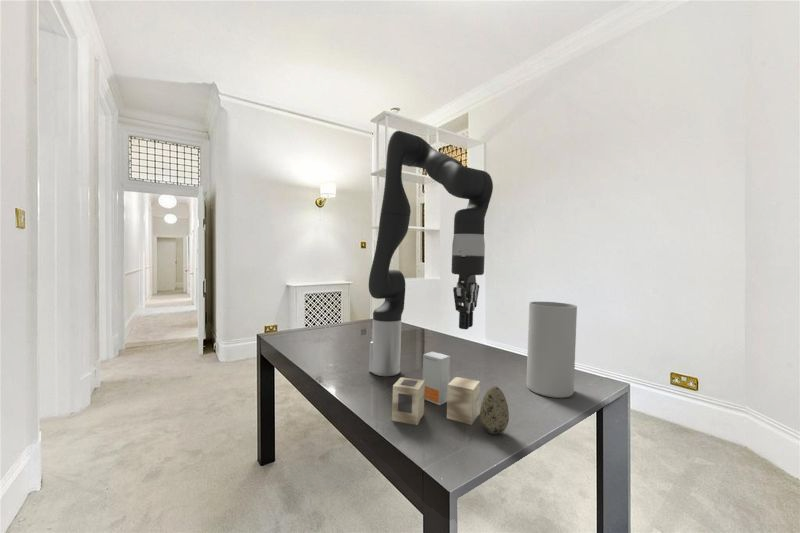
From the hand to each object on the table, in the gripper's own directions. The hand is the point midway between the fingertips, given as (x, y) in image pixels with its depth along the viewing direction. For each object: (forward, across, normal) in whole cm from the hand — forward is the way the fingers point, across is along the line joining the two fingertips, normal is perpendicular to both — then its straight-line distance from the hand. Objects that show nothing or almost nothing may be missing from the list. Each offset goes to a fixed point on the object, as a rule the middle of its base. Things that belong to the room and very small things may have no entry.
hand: (465, 327), depth 78 cm
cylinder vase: (+21, -29, +17) cm, 40 cm away
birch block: (+21, 0, 0) cm, 21 cm away
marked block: (+21, +7, -11) cm, 25 cm away
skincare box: (+21, -5, -9) cm, 24 cm away
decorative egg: (+21, +4, +8) cm, 23 cm away
